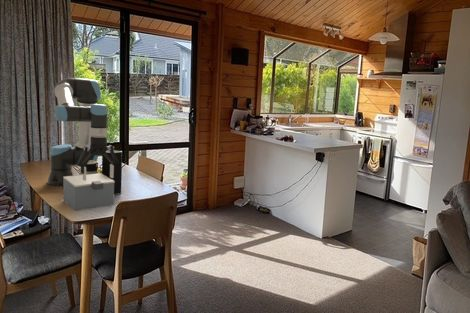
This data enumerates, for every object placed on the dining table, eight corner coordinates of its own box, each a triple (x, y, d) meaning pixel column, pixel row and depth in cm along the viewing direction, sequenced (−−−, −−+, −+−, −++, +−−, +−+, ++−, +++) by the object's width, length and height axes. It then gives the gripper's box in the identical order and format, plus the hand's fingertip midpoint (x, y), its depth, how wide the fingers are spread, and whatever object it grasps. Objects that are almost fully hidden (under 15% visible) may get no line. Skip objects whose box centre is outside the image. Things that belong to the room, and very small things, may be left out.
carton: (63, 200, 198) (63, 178, 195) (100, 195, 211) (101, 175, 208) (74, 210, 184) (74, 187, 182) (113, 204, 197) (114, 183, 195)
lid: (63, 180, 195) (63, 174, 195) (101, 176, 208) (101, 171, 208) (78, 192, 178) (78, 185, 177) (118, 187, 191) (118, 181, 190)
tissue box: (110, 196, 211) (111, 147, 206) (101, 193, 215) (102, 145, 210) (121, 193, 218) (122, 146, 213) (112, 190, 222) (113, 144, 217)
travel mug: (98, 190, 220) (98, 160, 216) (95, 194, 212) (95, 163, 208) (84, 189, 219) (84, 160, 215) (80, 193, 211) (80, 162, 207)
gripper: (74, 138, 170) (74, 183, 174) (126, 136, 186) (125, 177, 190) (69, 135, 175) (69, 179, 179) (120, 134, 192) (119, 174, 195)
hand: (98, 178), depth 185 cm, fingers open, 13 cm apart
